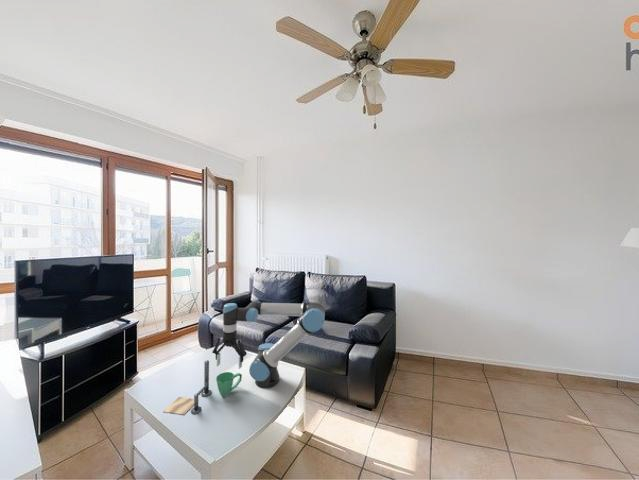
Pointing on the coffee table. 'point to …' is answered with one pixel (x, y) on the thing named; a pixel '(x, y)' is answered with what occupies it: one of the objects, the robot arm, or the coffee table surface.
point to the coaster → (180, 406)
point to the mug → (227, 382)
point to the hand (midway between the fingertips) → (229, 366)
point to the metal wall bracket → (205, 388)
